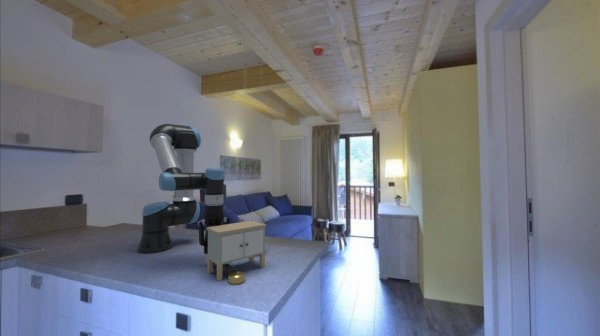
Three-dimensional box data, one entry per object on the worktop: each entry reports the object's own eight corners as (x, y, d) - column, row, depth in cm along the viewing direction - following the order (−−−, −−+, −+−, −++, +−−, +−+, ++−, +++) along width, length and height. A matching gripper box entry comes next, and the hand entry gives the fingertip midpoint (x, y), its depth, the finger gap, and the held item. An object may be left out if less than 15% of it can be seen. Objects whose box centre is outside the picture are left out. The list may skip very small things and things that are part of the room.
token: (224, 284, 85) (224, 277, 85) (233, 277, 91) (233, 270, 91) (240, 286, 84) (240, 279, 84) (248, 278, 89) (248, 272, 90)
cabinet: (205, 272, 95) (206, 227, 95) (252, 259, 109) (252, 220, 109) (218, 282, 86) (219, 232, 86) (267, 267, 100) (267, 224, 100)
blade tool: (206, 262, 103) (207, 233, 103) (216, 260, 105) (216, 232, 106) (228, 277, 88) (228, 243, 88) (238, 273, 91) (238, 241, 91)
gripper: (196, 207, 94) (196, 267, 94) (236, 203, 106) (236, 257, 105) (190, 205, 100) (189, 262, 99) (228, 202, 111) (228, 253, 111)
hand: (213, 259), depth 102 cm, fingers closed on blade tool, 4 cm apart
